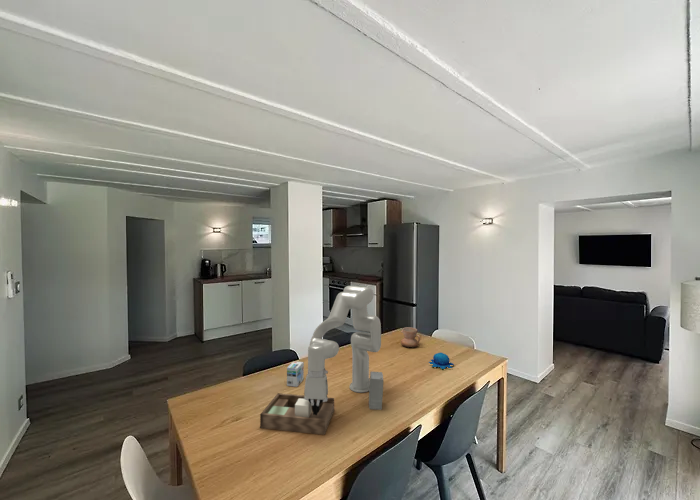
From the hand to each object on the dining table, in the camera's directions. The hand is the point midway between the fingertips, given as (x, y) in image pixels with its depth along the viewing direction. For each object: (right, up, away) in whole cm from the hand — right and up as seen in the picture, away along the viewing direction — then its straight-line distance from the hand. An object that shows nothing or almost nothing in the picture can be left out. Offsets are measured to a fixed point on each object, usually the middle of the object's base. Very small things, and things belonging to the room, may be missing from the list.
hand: (315, 413), depth 131 cm
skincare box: (+29, -6, +17) cm, 34 cm away
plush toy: (+78, -7, +71) cm, 106 cm away
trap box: (-8, -5, +5) cm, 11 cm away
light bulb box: (-17, -6, +42) cm, 46 cm away
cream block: (-6, -1, +1) cm, 6 cm away
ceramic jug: (+65, -7, +110) cm, 128 cm away
